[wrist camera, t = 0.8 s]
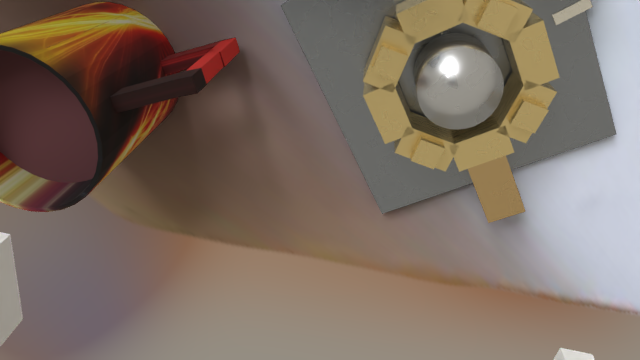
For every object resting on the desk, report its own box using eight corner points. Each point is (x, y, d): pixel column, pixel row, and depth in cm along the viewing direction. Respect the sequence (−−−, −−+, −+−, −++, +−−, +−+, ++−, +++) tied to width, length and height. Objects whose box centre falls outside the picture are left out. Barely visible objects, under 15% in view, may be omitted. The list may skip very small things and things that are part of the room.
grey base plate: (283, 2, 34) (268, 17, 30) (559, -135, 29) (590, -142, 25) (382, 207, 41) (381, 243, 37) (622, 124, 36) (655, 155, 31)
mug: (248, 42, 36) (191, 101, 26) (127, 154, 41) (39, 240, 31) (143, -75, 33) (31, -64, 23) (28, 60, 38) (-107, 120, 28)
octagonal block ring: (341, 29, 34) (337, 44, 30) (512, -50, 30) (528, -44, 27) (426, 219, 39) (430, 248, 36) (576, 169, 36) (596, 196, 33)
